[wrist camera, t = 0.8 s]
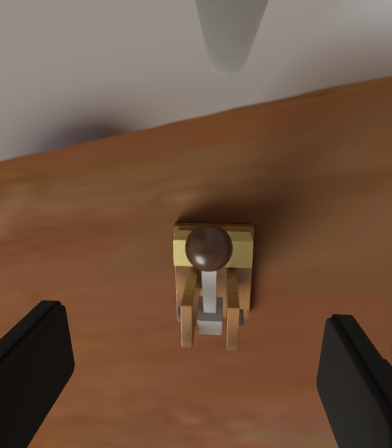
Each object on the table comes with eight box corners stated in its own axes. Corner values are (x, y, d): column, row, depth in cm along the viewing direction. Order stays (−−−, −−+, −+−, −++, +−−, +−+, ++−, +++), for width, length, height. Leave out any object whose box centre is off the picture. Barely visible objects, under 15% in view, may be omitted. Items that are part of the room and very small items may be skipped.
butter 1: (177, 229, 32) (173, 239, 30) (209, 230, 32) (207, 240, 29) (178, 254, 33) (174, 265, 31) (209, 255, 33) (207, 267, 30)
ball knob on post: (185, 213, 19) (180, 251, 17) (233, 214, 19) (234, 252, 17) (195, 306, 29) (192, 338, 27) (227, 307, 28) (227, 339, 26)
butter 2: (218, 230, 32) (217, 240, 29) (250, 231, 32) (253, 241, 29) (217, 255, 33) (217, 267, 30) (249, 256, 33) (251, 268, 30)
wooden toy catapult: (175, 222, 33) (154, 264, 23) (253, 224, 33) (267, 268, 22) (178, 309, 37) (161, 378, 27) (248, 313, 36) (258, 385, 26)
